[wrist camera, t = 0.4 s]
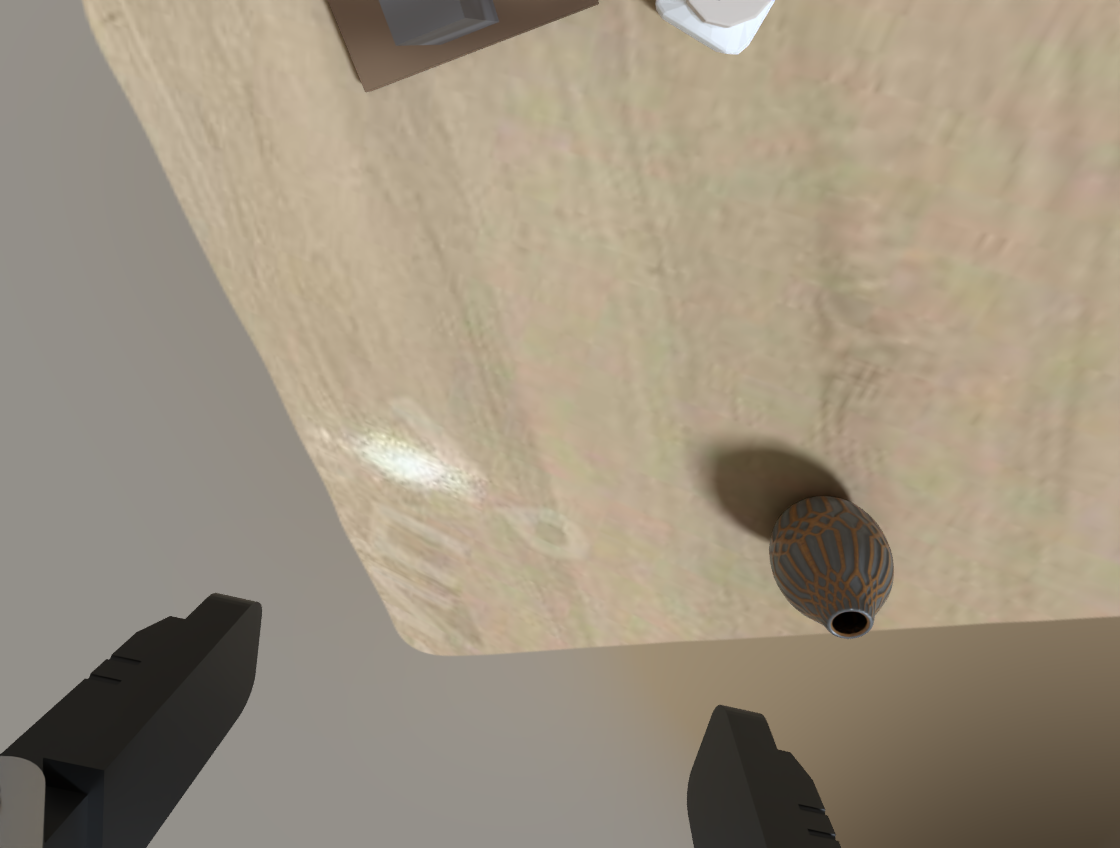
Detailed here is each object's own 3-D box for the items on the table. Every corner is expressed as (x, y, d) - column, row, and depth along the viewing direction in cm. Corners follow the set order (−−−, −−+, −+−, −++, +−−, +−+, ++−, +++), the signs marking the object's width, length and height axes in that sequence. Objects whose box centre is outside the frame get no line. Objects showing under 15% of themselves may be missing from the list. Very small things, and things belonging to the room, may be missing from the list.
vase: (806, 575, 45) (835, 682, 37) (741, 517, 43) (757, 618, 35) (895, 524, 41) (946, 630, 34) (828, 460, 40) (867, 557, 32)
